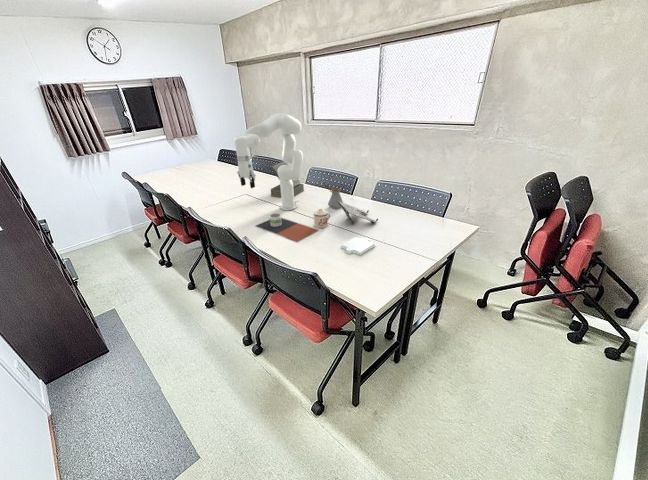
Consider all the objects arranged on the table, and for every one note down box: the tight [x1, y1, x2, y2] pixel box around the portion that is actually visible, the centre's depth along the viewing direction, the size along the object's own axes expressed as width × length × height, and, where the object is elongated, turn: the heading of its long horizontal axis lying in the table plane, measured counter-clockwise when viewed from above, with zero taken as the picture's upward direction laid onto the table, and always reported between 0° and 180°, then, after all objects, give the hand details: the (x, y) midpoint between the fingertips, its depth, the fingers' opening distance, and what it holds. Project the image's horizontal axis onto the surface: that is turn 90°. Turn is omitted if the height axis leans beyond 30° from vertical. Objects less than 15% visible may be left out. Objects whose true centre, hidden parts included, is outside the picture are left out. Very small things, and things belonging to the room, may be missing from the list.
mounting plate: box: [340, 236, 376, 256], centre depth 158 cm, size 18×13×2 cm
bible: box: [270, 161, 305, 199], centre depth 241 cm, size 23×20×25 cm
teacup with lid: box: [313, 207, 331, 229], centre depth 184 cm, size 12×9×12 cm
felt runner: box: [255, 217, 319, 243], centre depth 187 cm, size 20×39×1 cm, turn 46°
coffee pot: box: [323, 182, 344, 210], centre depth 212 cm, size 21×12×15 cm, turn 29°
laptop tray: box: [337, 201, 379, 224], centre depth 188 cm, size 23×23×9 cm
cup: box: [268, 212, 282, 227], centre depth 191 cm, size 8×8×7 cm
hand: (248, 186), depth 181 cm, fingers open, 9 cm apart
